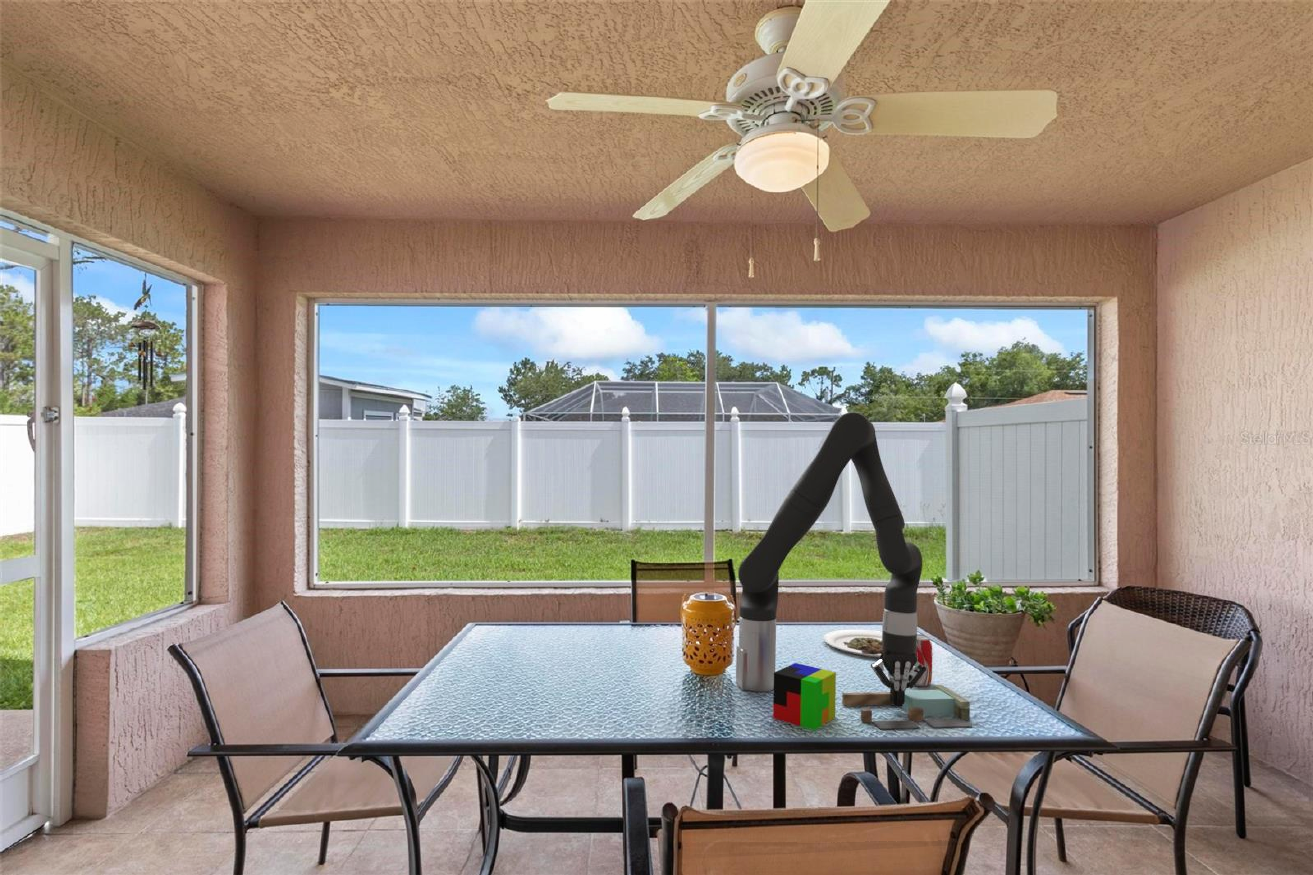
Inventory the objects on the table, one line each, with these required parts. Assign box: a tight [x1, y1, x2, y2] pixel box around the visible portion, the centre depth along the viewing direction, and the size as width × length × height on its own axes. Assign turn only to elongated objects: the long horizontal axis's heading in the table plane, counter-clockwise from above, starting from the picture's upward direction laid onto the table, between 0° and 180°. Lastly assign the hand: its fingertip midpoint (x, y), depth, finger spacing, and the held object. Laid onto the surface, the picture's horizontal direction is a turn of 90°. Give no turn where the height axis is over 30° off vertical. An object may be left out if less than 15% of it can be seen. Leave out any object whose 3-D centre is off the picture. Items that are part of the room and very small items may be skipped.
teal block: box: [900, 689, 955, 717], centre depth 156 cm, size 10×6×4 cm, turn 97°
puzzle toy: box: [772, 662, 837, 731], centre depth 150 cm, size 10×10×10 cm
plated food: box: [823, 629, 882, 659], centre depth 210 cm, size 30×30×3 cm
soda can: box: [909, 633, 933, 687], centre depth 176 cm, size 7×7×12 cm
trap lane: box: [841, 684, 973, 731], centre depth 153 cm, size 25×16×4 cm, turn 97°
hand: (897, 705), depth 155 cm, fingers closed
